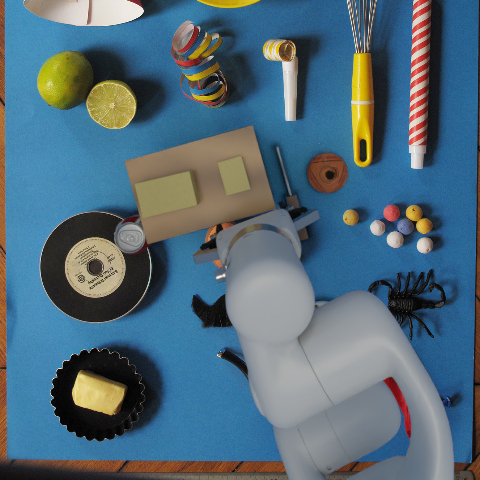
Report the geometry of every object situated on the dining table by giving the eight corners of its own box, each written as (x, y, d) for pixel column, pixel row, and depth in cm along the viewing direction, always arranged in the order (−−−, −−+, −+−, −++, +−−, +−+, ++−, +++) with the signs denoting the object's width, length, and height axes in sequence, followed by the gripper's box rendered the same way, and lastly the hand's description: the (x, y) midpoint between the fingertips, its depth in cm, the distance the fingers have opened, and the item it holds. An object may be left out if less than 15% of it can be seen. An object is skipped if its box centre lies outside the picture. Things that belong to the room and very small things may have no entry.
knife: (306, 235, 85) (308, 238, 82) (296, 238, 85) (298, 241, 82) (281, 145, 85) (282, 145, 82) (271, 148, 85) (272, 148, 82)
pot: (354, 178, 84) (356, 184, 78) (319, 195, 86) (318, 203, 80) (335, 143, 84) (335, 147, 78) (301, 161, 86) (298, 166, 80)
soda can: (159, 246, 86) (144, 260, 74) (127, 239, 86) (107, 252, 74) (165, 213, 86) (152, 223, 74) (133, 207, 86) (114, 215, 74)
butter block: (200, 202, 62) (197, 205, 59) (148, 214, 63) (142, 218, 59) (192, 170, 62) (189, 170, 59) (141, 182, 63) (134, 183, 59)
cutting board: (269, 195, 85) (276, 209, 62) (175, 221, 86) (147, 244, 63) (252, 133, 85) (252, 124, 62) (158, 160, 86) (124, 160, 63)
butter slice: (227, 194, 62) (250, 188, 62) (226, 196, 60) (250, 189, 60) (218, 162, 62) (241, 155, 62) (217, 162, 60) (241, 155, 60)
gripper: (198, 317, 46) (207, 264, 63) (347, 262, 46) (316, 224, 63) (173, 255, 45) (189, 219, 62) (324, 199, 45) (299, 178, 62)
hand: (253, 221), depth 63 cm, fingers open, 9 cm apart
